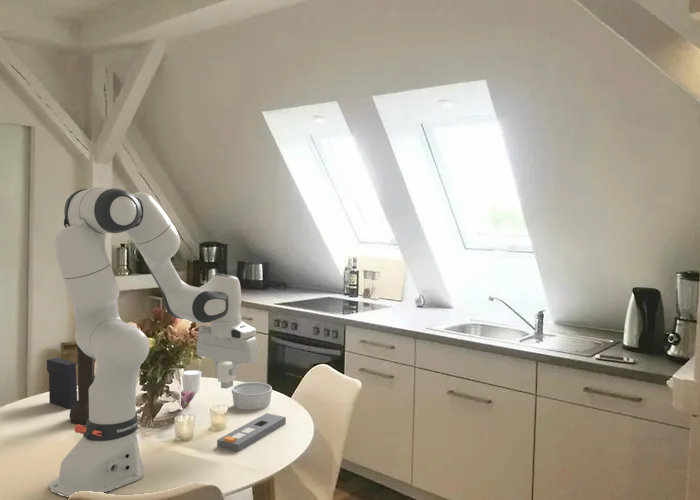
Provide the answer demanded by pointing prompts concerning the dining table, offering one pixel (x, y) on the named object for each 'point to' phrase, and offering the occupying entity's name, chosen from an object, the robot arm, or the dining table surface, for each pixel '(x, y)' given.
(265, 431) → the power strip
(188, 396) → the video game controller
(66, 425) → the dining table surface
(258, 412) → the dining table surface
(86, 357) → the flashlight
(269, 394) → the ramekin
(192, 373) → the white cup
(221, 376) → the charger
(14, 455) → the dining table surface
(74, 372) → the dark blue lidded box
